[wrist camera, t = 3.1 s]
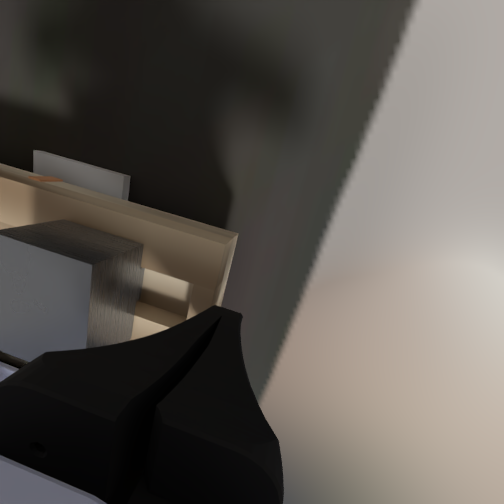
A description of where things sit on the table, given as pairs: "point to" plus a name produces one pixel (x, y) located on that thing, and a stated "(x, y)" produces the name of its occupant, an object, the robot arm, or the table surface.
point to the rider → (66, 288)
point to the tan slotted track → (126, 234)
